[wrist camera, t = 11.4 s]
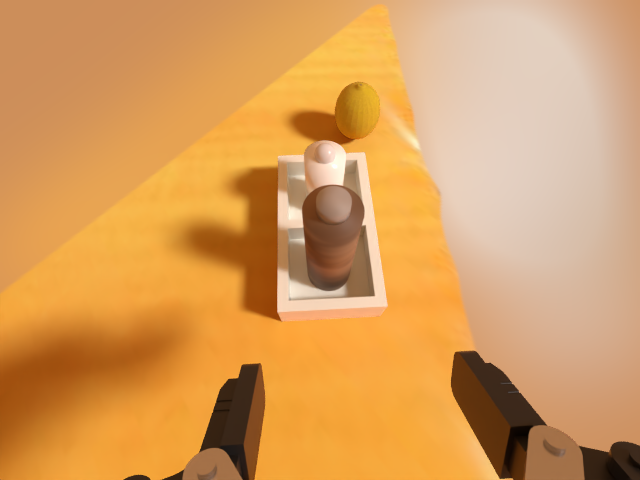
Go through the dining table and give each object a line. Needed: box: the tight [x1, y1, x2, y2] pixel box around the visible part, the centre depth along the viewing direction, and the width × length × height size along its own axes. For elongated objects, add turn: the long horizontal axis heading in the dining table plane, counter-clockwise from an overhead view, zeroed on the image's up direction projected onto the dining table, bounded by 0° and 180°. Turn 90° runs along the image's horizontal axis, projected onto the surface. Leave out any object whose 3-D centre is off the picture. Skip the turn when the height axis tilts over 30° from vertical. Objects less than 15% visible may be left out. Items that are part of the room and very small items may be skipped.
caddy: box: [277, 152, 387, 321], centre depth 35 cm, size 18×10×4 cm, turn 3°
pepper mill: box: [302, 185, 365, 291], centre depth 27 cm, size 4×4×13 cm
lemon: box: [335, 82, 380, 139], centre depth 40 cm, size 6×6×8 cm
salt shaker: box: [304, 140, 346, 197], centre depth 33 cm, size 4×4×9 cm
